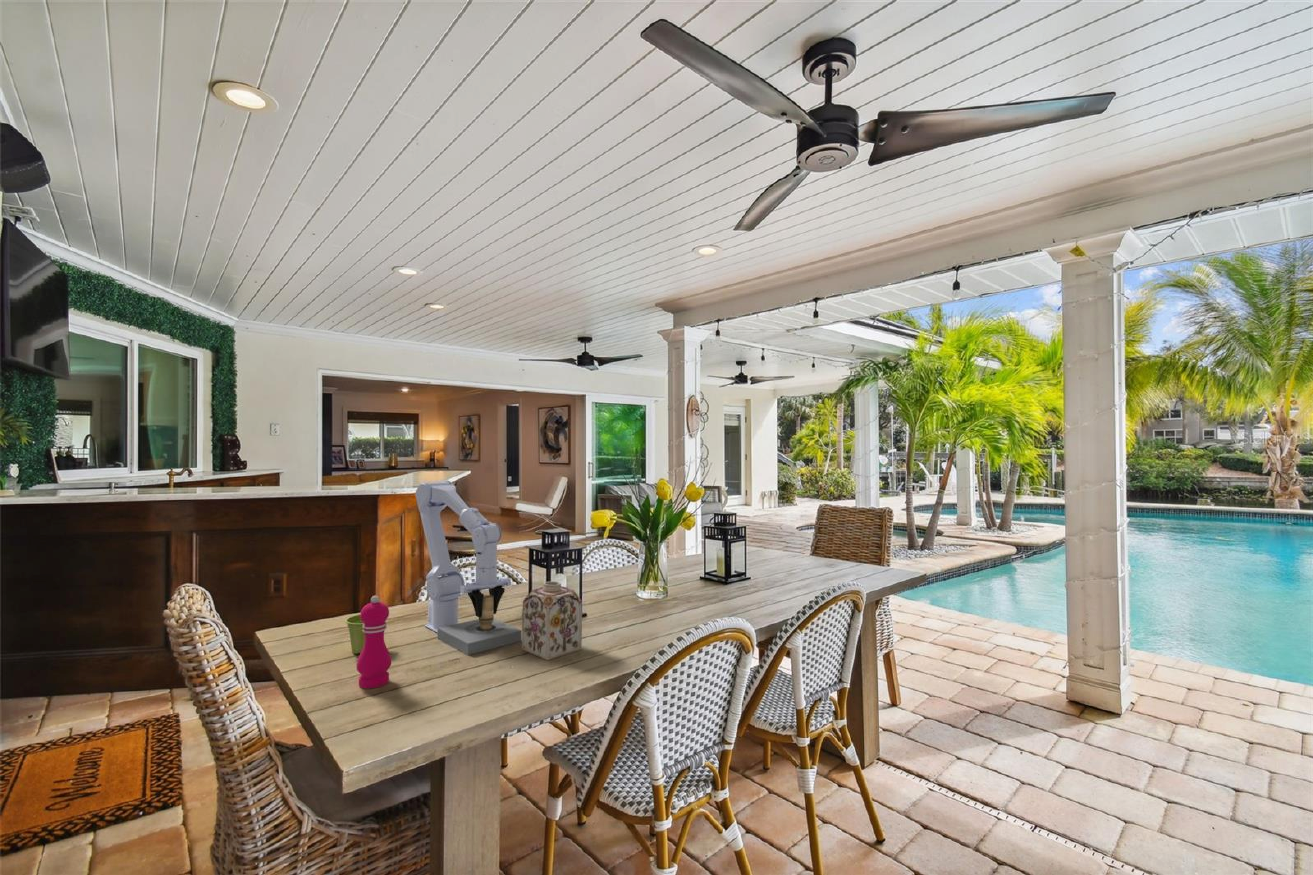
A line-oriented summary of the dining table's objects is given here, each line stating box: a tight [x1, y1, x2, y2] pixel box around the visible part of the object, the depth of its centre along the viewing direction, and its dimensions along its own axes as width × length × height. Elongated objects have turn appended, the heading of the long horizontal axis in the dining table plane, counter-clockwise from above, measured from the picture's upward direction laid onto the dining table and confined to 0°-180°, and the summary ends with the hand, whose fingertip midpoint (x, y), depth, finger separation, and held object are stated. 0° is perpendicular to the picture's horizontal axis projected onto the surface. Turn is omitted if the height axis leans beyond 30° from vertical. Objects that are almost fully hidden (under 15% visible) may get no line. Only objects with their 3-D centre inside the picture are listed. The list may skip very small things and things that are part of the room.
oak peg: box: [478, 594, 495, 630], centre depth 167 cm, size 4×4×9 cm
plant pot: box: [345, 613, 365, 655], centre depth 157 cm, size 9×9×9 cm
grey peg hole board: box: [437, 618, 522, 656], centre depth 166 cm, size 18×16×3 cm
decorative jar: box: [521, 580, 583, 661], centre depth 158 cm, size 12×12×18 cm
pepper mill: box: [356, 595, 392, 689], centre depth 135 cm, size 7×7×20 cm
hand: (486, 614), depth 167 cm, fingers closed on oak peg, 4 cm apart
